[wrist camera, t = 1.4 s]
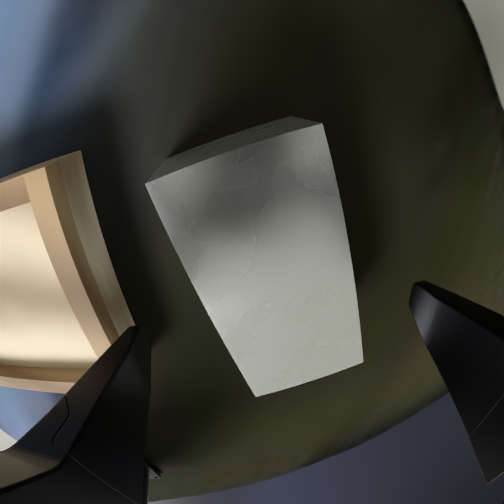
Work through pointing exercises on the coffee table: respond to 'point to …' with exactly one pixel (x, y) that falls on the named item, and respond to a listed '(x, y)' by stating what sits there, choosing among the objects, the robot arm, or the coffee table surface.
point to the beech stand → (54, 278)
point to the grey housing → (266, 249)
